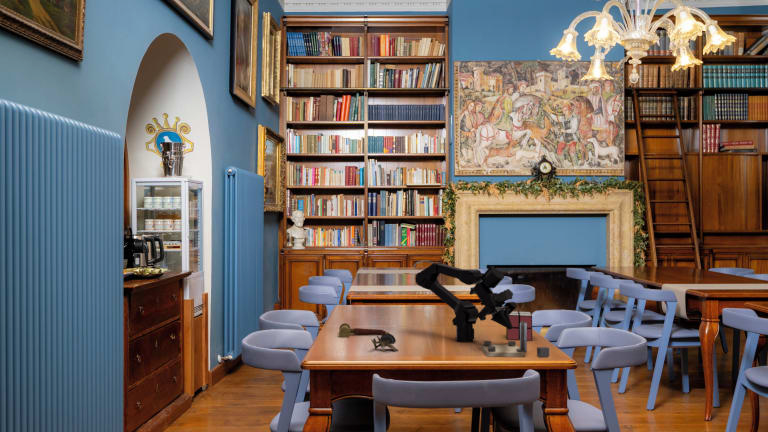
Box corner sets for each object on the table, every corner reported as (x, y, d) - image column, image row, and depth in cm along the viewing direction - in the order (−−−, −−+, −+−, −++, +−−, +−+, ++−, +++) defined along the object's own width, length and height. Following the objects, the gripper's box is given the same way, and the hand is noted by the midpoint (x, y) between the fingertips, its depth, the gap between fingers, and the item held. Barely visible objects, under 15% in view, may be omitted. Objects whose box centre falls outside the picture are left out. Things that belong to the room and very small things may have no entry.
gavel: (388, 325, 236) (390, 330, 226) (388, 336, 236) (389, 341, 226) (339, 322, 235) (339, 327, 225) (339, 333, 235) (338, 338, 225)
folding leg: (526, 354, 195) (526, 326, 195) (519, 353, 195) (519, 325, 196) (526, 350, 201) (526, 322, 201) (520, 349, 202) (520, 322, 202)
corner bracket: (537, 355, 194) (537, 347, 194) (546, 355, 195) (546, 346, 195) (539, 357, 192) (539, 348, 192) (549, 356, 193) (549, 348, 193)
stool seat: (487, 356, 192) (487, 322, 193) (481, 348, 205) (481, 316, 206) (526, 357, 192) (526, 322, 192) (518, 348, 205) (518, 316, 205)
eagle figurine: (371, 350, 197) (396, 346, 196) (370, 331, 201) (394, 327, 200) (376, 357, 203) (400, 353, 202) (375, 339, 208) (398, 335, 206)
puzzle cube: (532, 341, 219) (532, 315, 220) (506, 339, 221) (506, 314, 222) (530, 336, 229) (530, 312, 229) (506, 335, 231) (506, 311, 231)
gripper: (484, 284, 202) (510, 318, 194) (513, 280, 215) (538, 312, 207) (467, 303, 207) (491, 337, 199) (496, 299, 220) (520, 330, 212)
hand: (511, 328), depth 204 cm, fingers closed
